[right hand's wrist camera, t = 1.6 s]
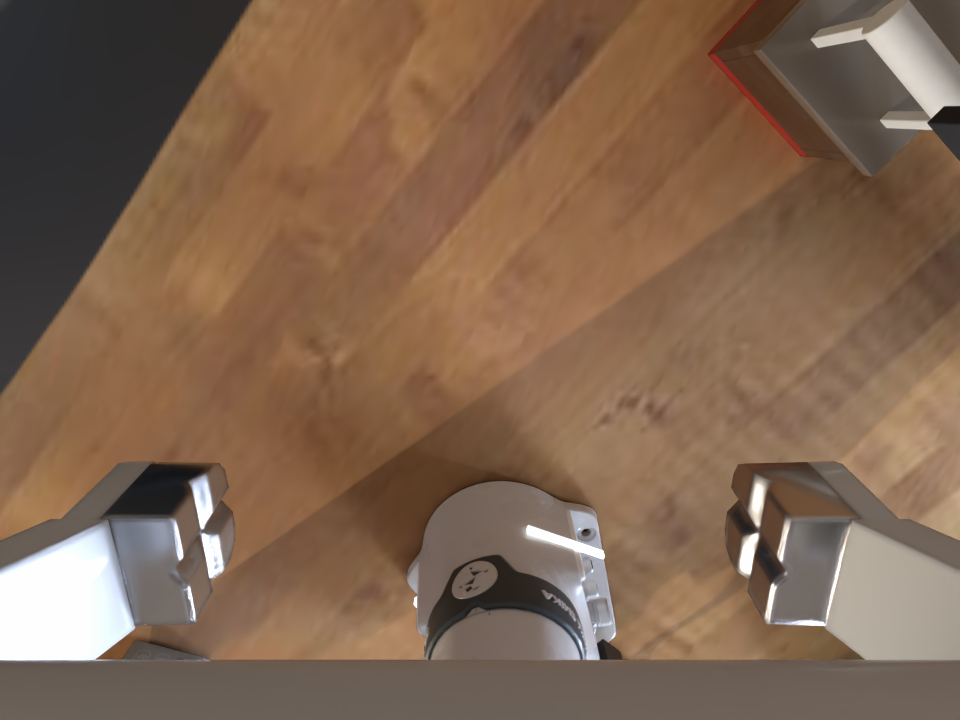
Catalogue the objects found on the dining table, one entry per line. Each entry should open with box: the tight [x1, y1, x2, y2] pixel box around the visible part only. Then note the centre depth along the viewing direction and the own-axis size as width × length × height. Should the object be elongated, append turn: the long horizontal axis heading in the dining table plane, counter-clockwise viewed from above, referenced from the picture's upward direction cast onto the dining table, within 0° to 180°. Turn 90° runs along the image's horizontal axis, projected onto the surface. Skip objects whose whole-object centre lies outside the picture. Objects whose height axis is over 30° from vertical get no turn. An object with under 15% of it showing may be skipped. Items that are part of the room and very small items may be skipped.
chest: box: [708, 0, 851, 162], centre depth 40 cm, size 13×10×9 cm
